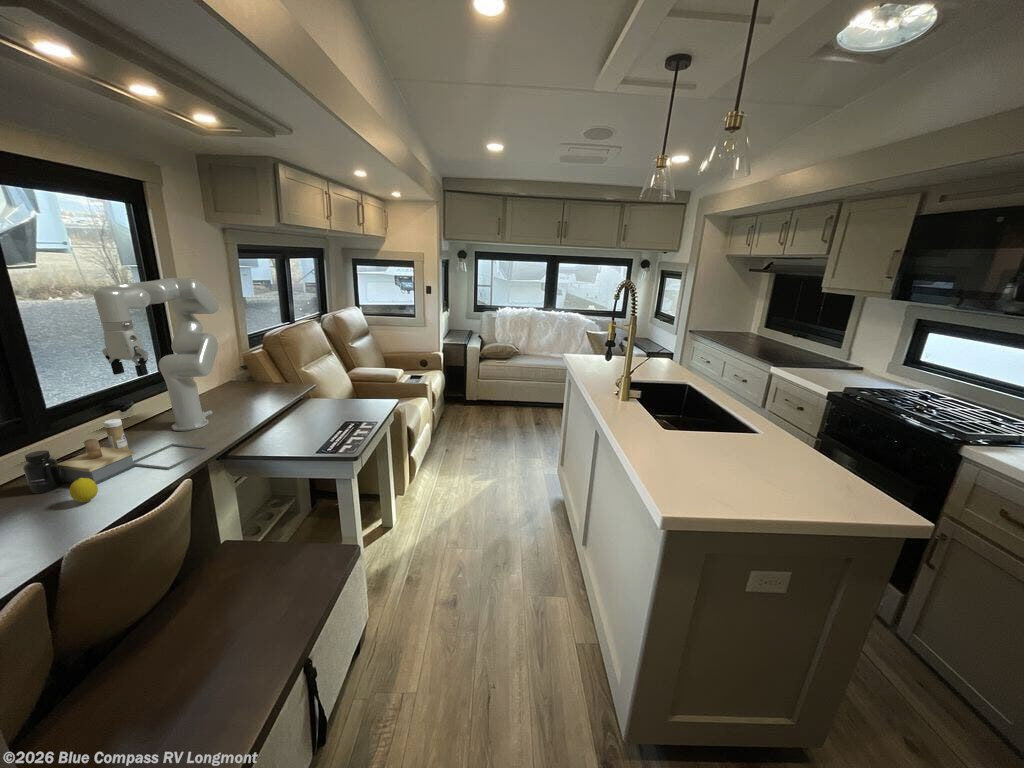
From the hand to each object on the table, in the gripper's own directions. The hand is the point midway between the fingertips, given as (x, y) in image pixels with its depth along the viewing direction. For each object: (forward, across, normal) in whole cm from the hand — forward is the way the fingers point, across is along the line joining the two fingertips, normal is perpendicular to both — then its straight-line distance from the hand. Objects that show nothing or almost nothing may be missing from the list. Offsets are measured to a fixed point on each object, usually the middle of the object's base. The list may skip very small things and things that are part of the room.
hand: (131, 374), depth 141 cm
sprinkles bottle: (+30, +8, +4) cm, 32 cm away
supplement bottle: (+30, +6, +27) cm, 41 cm away
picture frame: (+30, -11, +2) cm, 32 cm away
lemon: (+30, -14, +31) cm, 45 cm away
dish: (+30, 0, +17) cm, 34 cm away
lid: (+25, 0, +17) cm, 30 cm away
